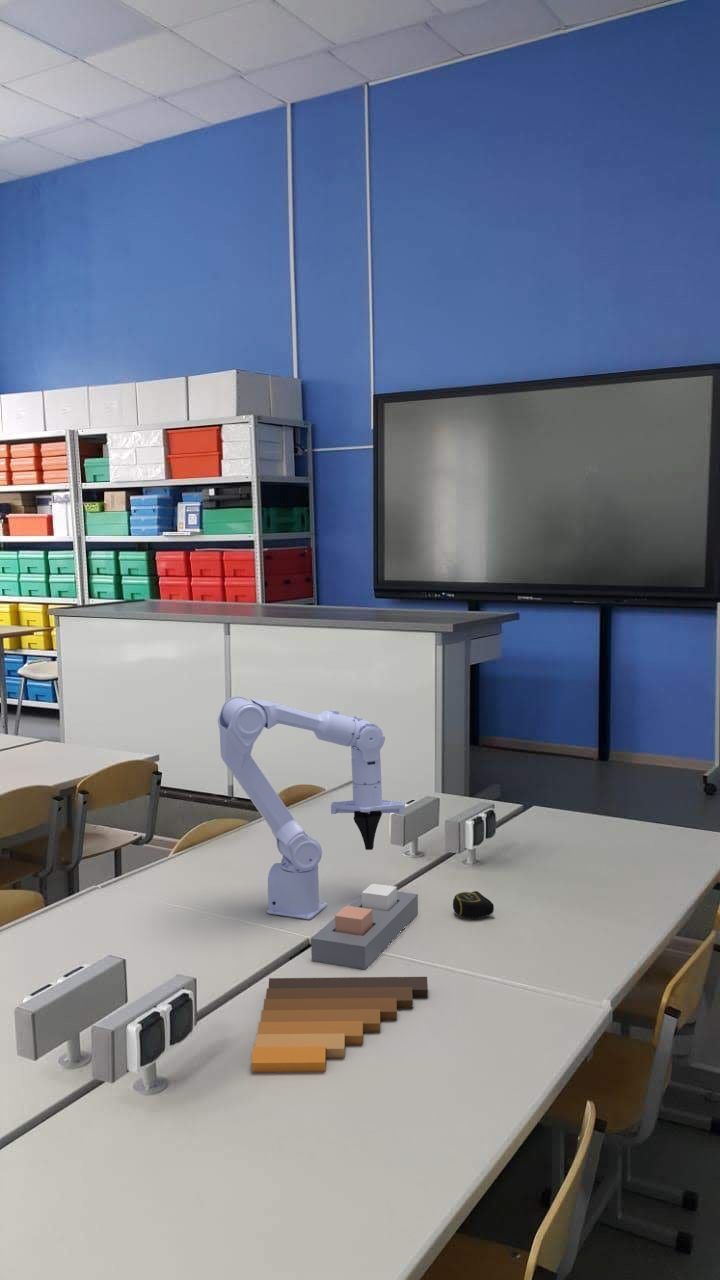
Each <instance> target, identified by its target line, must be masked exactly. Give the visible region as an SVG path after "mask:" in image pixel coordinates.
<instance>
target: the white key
mask: <svg viewBox="0 0 720 1280" xmlns="http://www.w3.org/2000/svg"><path fill="white" fill-rule="evenodd" d="M397 892H398V886H393V885H385V884H378V883H376V884H375V883H371V884H370V885H369V886H368V887H367V888H365V889H364V890H363V891H362V892H361V895H362V908H369V909H376V910H383V911H390V910H391V909H392V908H393V907H394V906H395V905H396V904H397Z"/></svg>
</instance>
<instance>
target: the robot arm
mask: <svg viewBox="0 0 720 1280" xmlns="http://www.w3.org/2000/svg"><path fill="white" fill-rule="evenodd" d="M249 700H250V701H249ZM217 724H218V728H219V744H220V745H219V746H220V747H219V749H220V757H221V759H222V761H223V762H224V764H225V765H226V766H227V768H228V770H229V771H230V772H231V774H232V775H233V777H234V778H235V779H236V781H237V782H238V784H239V786H240V787H241V788H242V789H243V791H244V792H245V794H246V795H247V796H248V798H249V799H250V801H251V802H252V804H253V805H254V807H255V808H256V810H257V811H258V812H259V814H260V815H261V817H262V818H263V819H264V821H265V822H266V824H267V826H268V827H269V828H270V830H271V833H272V834H273V836H274V838H275V840H276V848H277V850H278V852H279V853H280V854H281V855H282V858H281V862H276V863H273V864H272V866H271V868H270V869H269V872H268V876H267V898H268V899H267V901H268V902H267V903H268V905H267V907H268V909H267V910H266V914H269V915H276V916H284V917H290V918H298V919H303V920H312V918H314V917H315V916H316V915H318V914H319V913H320V912H321V911H322V910H323V909H325V908H327V906H328V903H327V902H322V901H320V893H319V892H320V889H319V863H320V862H321V859H322V856H323V849H322V846H321V844H320V843H319V841H317V840H316V839H314V838H313V837H312V836H310V835H309V834H308V833H306V831H305V830H304V829H303V828H302V826H301V825H300V824H299V823H298V822H297V820H296V819H295V818H294V816H293V815H292V813H291V812H290V811H289V809H288V808H287V806H286V805H285V803H284V802H283V801H282V799H281V798H280V796H279V795H278V793H277V792H276V790H275V789H274V788H273V786H272V784H271V783H270V782H269V780H268V779H267V777H266V776H265V774H264V773H263V772H262V769H260V767H259V766H258V764H257V763H256V761H255V760H254V758H253V756H252V755H251V754H252V750H253V748H254V747H253V746H254V744H255V742H256V740H258V738H259V736H260V735H261V734H262V732H263V730H264V729H267V730H269V729H271V728H273V727H275V726H276V725H278V724H279V725H284V726H289V727H293V728H298V729H303V730H308V731H311V732H313V734H314V735H315V737H316V738H317V739H318V740H319V741H324V742H328V743H332V744H336V745H340V746H344V747H348V748H349V747H350V748H351V749H350V750H351V751H350V753H351V775H352V776H351V783H352V785H351V786H352V799H351V800H342V801H332V802H331V804H330V814H331V815H337V814H353V815H354V816H353V820H354V823H355V824H356V827H357V828H358V830H359V832H360V834H361V838H362V841H363V843H364V849H365V850H366V851H372V850H373V849H374V847H375V846H374V845H375V837H376V832H377V828H378V827H379V826H378V825H379V823H380V820H381V819H382V815H383V814H399V815H405V812H406V801H397V800H396V801H394V800H386V799H385V800H384V799H383V796H382V795H383V790H382V766H381V763H382V762H381V750H382V748H383V746H384V744H385V742H386V741H385V740H386V736H384V733H383V731H382V729H381V728H380V727H379V726H378V725H377V724H375V723H372V722H371V721H368V720H366V719H363V718H361V717H360V716H358V715H354V717H352V716H348V715H344V714H341V713H340V711H339V710H338V709H337V710H336V709H333V708H331V710H330V711H329V710H323V711H321V712H320V713H318V714H315V713H311V712H307V711H303V710H301V709H298V708H293V707H290V706H288V705H284V704H280V703H278V702H277V703H276V702H274V701H269V700H263V699H258V698H249V699H247V698H245V697H244V696H238V695H237V696H232V697H230V698H228V699H227V700H226V701H225V702H224V703H223V704H222V706H221V709H220V712H219V715H218V718H217Z"/></svg>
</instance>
